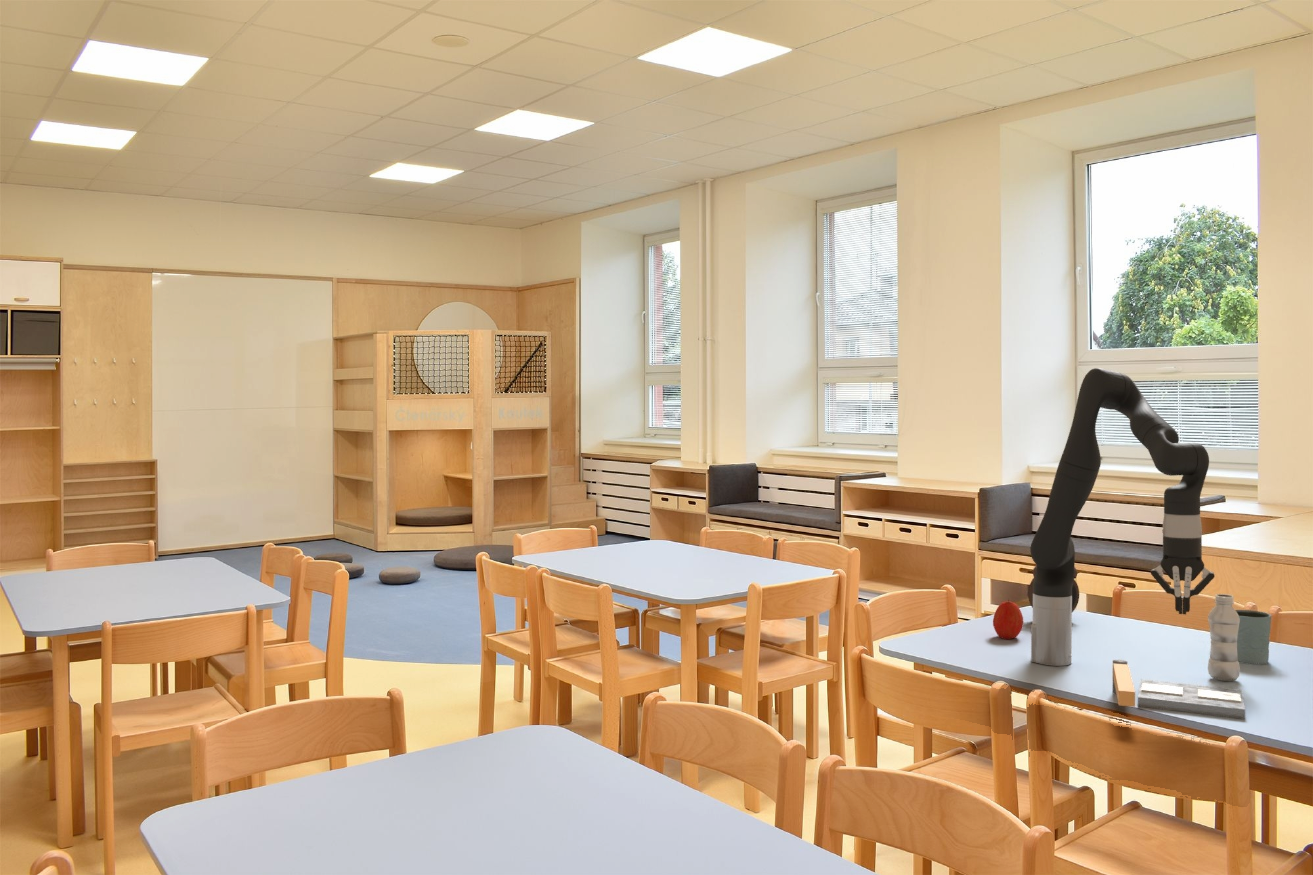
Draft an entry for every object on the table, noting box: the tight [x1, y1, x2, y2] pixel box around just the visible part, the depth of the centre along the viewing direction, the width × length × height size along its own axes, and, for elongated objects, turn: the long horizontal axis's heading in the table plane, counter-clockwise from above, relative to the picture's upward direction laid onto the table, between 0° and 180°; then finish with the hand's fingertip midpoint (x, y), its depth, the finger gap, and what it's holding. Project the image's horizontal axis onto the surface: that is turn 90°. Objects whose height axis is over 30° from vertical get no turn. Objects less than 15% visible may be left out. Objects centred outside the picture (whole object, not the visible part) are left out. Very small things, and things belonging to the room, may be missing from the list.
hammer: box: [1112, 659, 1136, 708], centre depth 216 cm, size 27×3×7 cm, turn 158°
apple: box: [992, 599, 1024, 640], centre depth 284 cm, size 8×8×11 cm
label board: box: [1137, 678, 1246, 720], centre depth 221 cm, size 20×16×2 cm
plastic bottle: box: [1207, 593, 1241, 682], centre depth 239 cm, size 6×7×20 cm
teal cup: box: [1235, 609, 1272, 665], centre depth 258 cm, size 10×10×12 cm
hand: (1182, 613), depth 221 cm, fingers closed
